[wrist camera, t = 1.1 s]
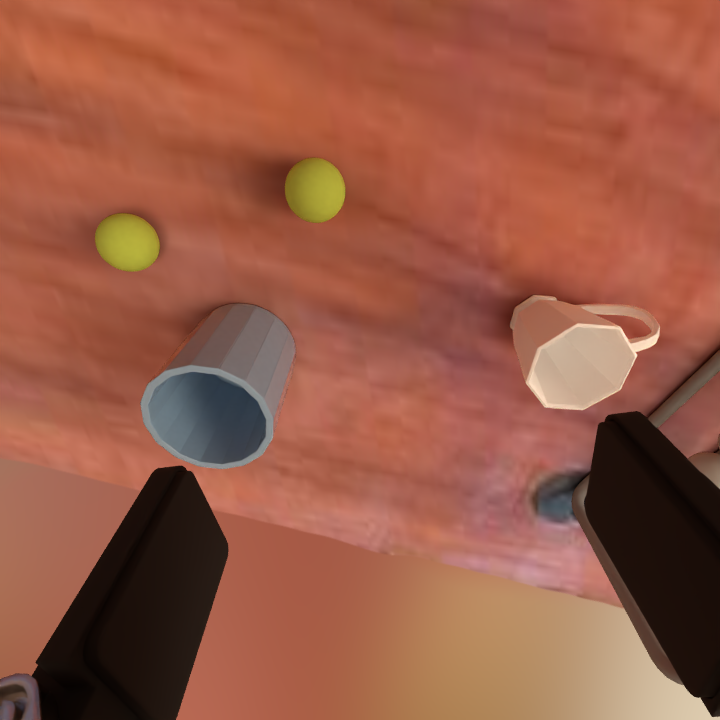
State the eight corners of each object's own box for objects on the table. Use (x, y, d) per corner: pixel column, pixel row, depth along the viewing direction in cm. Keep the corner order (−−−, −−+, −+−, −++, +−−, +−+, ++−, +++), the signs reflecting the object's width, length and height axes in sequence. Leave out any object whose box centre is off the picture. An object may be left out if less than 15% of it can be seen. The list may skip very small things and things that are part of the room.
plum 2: (282, 164, 28) (270, 170, 24) (337, 148, 27) (333, 151, 24) (300, 222, 30) (291, 235, 26) (352, 208, 29) (350, 220, 26)
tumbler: (179, 315, 34) (115, 381, 25) (275, 292, 33) (242, 353, 24) (222, 397, 38) (179, 477, 29) (308, 378, 37) (290, 457, 28)
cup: (486, 292, 32) (519, 339, 25) (619, 254, 31) (693, 293, 24) (499, 364, 36) (531, 422, 29) (619, 333, 34) (684, 387, 27)
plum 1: (104, 216, 30) (69, 228, 26) (152, 202, 29) (123, 212, 26) (132, 267, 32) (103, 284, 28) (178, 255, 31) (154, 271, 28)
